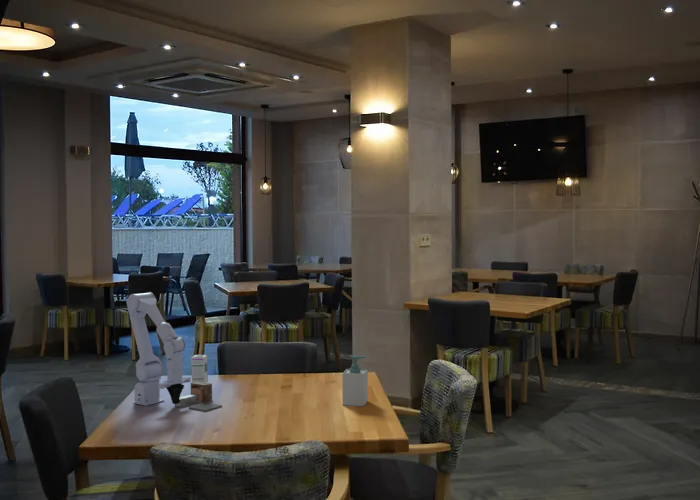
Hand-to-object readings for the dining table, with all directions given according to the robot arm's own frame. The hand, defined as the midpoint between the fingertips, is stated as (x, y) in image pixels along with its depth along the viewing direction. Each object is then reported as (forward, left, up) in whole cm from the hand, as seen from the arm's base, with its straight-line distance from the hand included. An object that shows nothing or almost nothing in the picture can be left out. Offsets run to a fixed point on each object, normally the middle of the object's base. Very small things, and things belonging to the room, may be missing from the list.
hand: (175, 403), depth 283 cm
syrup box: (+27, +15, -2) cm, 31 cm away
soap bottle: (+44, -55, -2) cm, 71 cm away
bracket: (+14, 0, -1) cm, 14 cm away
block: (+14, 0, -1) cm, 14 cm away
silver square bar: (+6, 0, -1) cm, 6 cm away
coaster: (+6, -10, -1) cm, 12 cm away
